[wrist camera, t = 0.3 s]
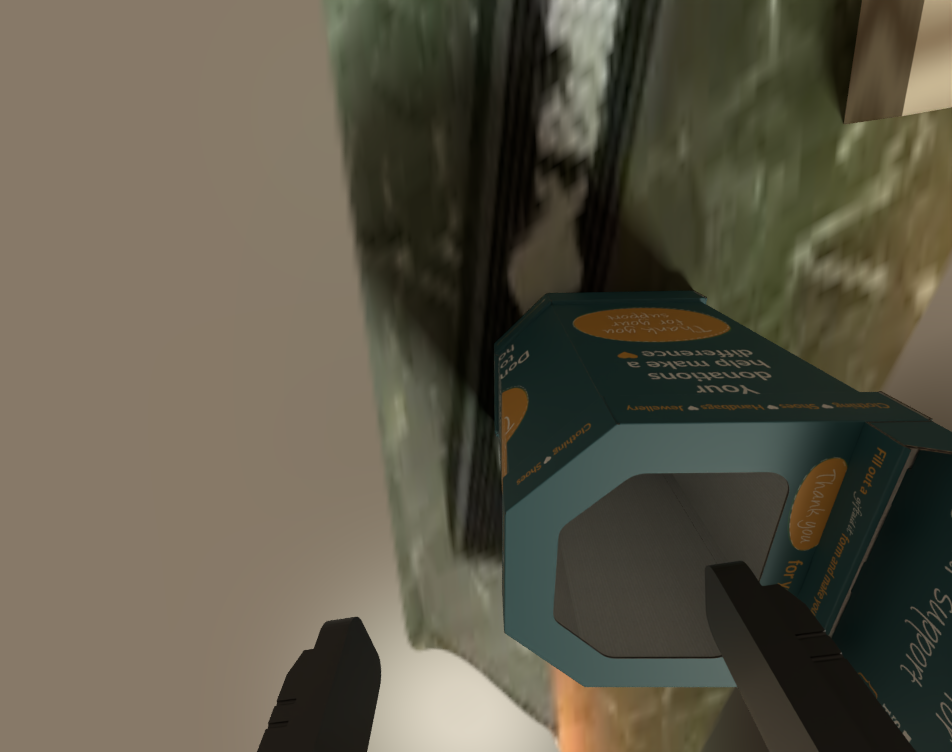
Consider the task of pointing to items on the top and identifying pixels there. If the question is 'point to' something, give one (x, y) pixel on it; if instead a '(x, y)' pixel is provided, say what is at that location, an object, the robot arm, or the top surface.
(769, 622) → the robot arm
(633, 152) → the top surface
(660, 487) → the donation box
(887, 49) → the birch block
